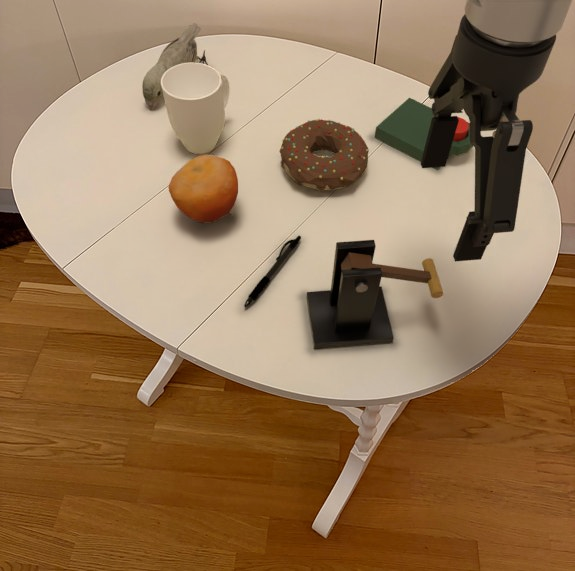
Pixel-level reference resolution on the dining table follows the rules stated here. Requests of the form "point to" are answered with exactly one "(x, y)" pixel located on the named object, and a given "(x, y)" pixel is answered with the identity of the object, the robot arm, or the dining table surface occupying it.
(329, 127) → the donut
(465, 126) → the button
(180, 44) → the decorative bird
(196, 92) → the mug
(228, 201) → the fruit
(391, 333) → the switch bracket
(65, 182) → the dining table surface
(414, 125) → the button block
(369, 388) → the dining table surface
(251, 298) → the pen
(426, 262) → the lever
